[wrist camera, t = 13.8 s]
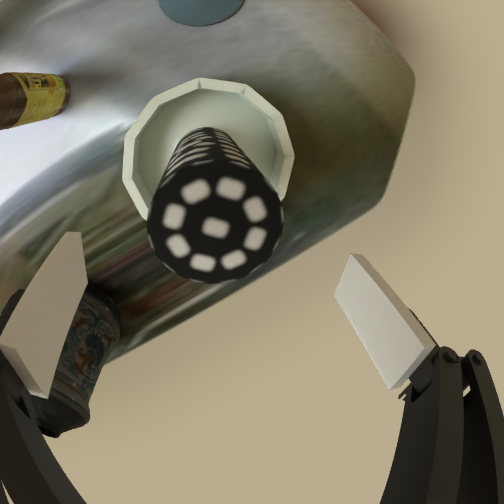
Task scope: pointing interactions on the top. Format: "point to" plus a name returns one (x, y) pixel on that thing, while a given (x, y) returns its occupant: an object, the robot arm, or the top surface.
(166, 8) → the cocktail glass
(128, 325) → the top surface
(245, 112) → the bowl
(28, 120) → the sauce bottle
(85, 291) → the beer stein
